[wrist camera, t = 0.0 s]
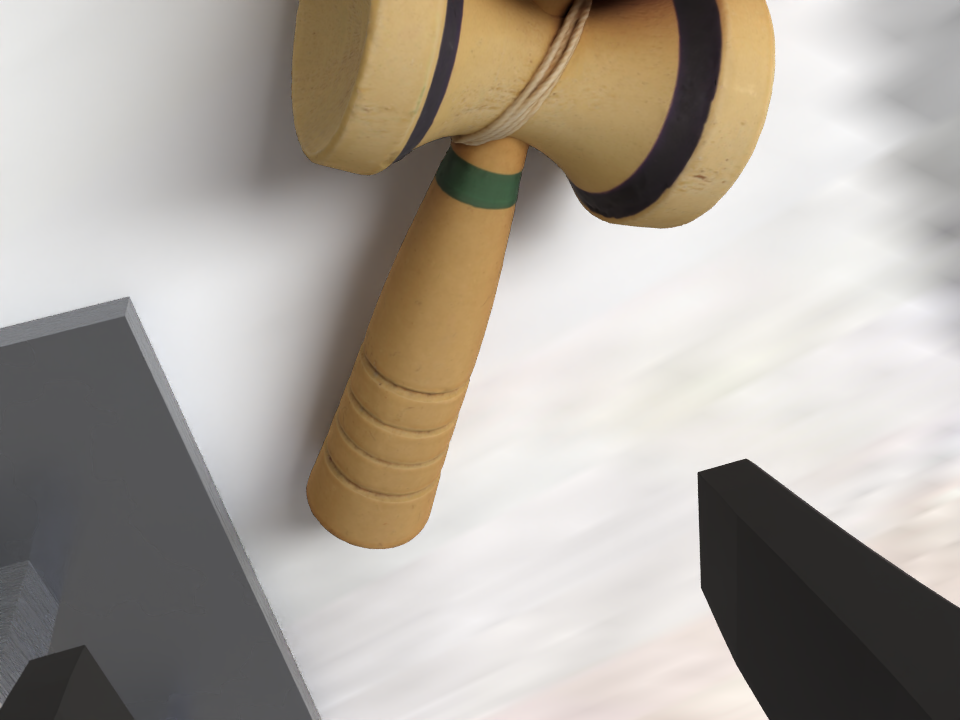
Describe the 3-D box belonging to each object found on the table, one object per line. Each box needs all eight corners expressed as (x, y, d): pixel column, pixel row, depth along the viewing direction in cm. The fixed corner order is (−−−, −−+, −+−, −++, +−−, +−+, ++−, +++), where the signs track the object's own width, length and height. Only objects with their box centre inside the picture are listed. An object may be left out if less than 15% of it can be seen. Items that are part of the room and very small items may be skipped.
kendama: (525, 436, 25) (899, -374, 14) (537, 633, 20) (1134, -396, 9) (242, 371, 23) (420, -585, 13) (178, 566, 18) (381, -751, 8)
